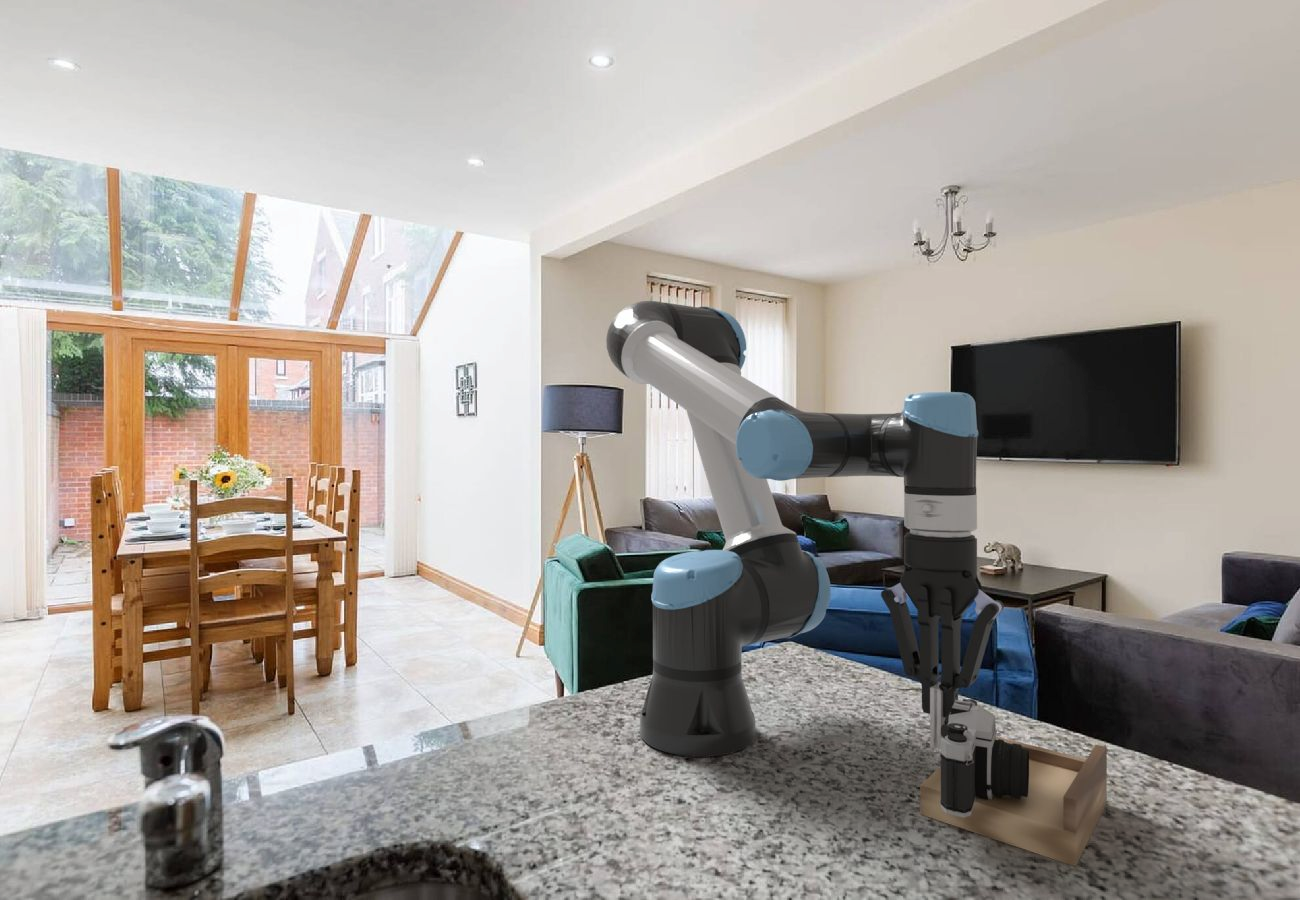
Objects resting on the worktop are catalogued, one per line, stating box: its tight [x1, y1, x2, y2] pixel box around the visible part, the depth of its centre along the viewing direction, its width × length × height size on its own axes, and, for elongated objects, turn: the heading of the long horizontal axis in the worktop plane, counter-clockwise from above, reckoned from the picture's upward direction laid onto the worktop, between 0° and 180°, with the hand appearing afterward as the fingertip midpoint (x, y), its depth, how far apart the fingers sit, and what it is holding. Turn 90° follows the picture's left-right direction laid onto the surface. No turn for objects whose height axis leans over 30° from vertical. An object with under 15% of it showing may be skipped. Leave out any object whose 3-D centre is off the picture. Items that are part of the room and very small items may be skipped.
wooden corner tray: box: [919, 736, 1108, 867], centre depth 75 cm, size 14×15×6 cm
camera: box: [939, 698, 1029, 818], centre depth 72 cm, size 13×8×9 cm, turn 152°
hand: (940, 744), depth 80 cm, fingers closed
